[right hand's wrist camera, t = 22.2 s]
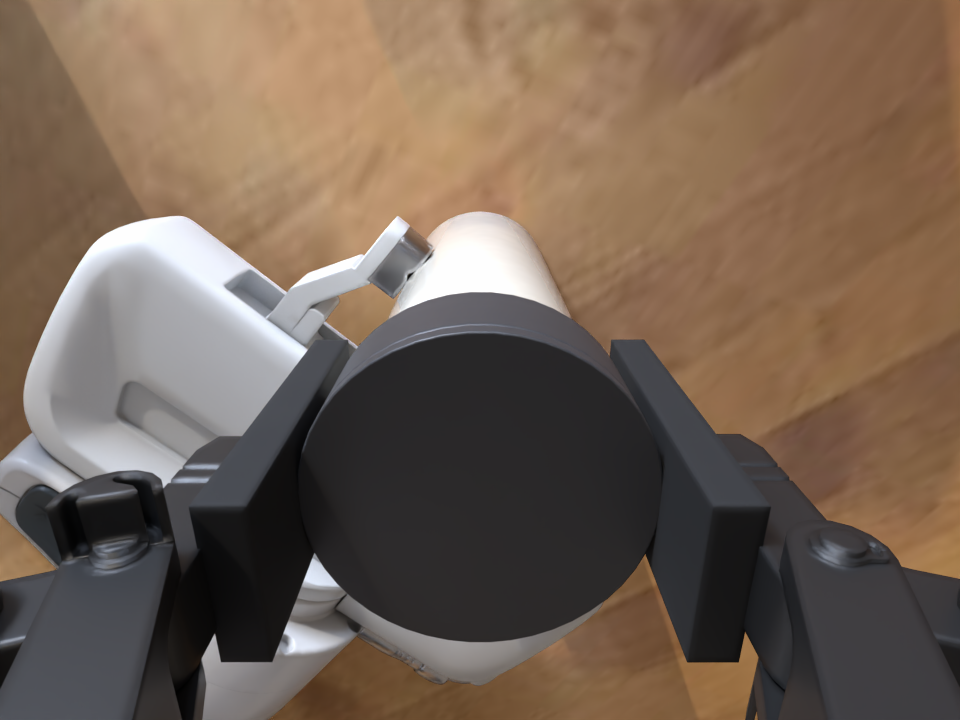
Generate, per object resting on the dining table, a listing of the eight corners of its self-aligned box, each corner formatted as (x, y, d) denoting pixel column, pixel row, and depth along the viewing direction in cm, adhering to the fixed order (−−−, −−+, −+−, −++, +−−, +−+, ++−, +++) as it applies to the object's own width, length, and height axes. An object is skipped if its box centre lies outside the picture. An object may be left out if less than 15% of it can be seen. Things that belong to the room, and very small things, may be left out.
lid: (349, 261, 11) (315, 295, 9) (669, 324, 11) (715, 373, 9) (315, 532, 13) (282, 615, 11) (586, 577, 14) (606, 665, 11)
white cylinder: (433, 350, 26) (378, 621, 12) (399, 228, 24) (285, 376, 10) (555, 324, 26) (649, 572, 12) (530, 197, 24) (607, 306, 10)
